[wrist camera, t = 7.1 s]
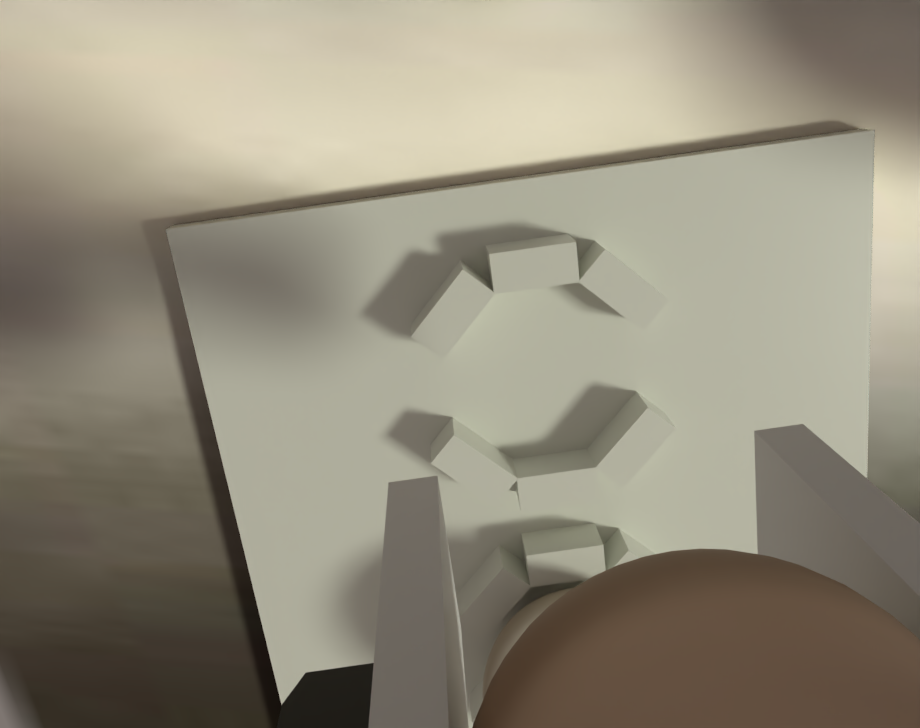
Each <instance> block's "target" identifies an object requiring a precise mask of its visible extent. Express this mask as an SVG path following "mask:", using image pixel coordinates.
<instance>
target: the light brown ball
mask: <svg viewBox="0 0 920 728" xmlns="http://www.w3.org/2000/svg"><path fill="white" fill-rule="evenodd" d="M472 728H920V639H919V638H917V637H916V636H915V635H914V634H913V633H912V632H911V631H910V630H909V629H907V628H906V627H905V626H904V625H903V624H902V623H900V622H899V621H898V620H897V619H896V618H895V617H893V616H892V615H891V614H890V613H888V612H887V611H885V610H883V609H882V608H880V607H879V606H877V605H876V604H874V603H873V602H871V601H870V600H868V599H867V598H865V597H864V596H862V595H860V594H859V593H857V592H856V591H854V590H852V589H851V588H849V587H848V586H846V585H844V584H842V583H840V582H838V581H835V580H833V579H831V578H829V577H826V576H824V575H822V574H819V573H817V572H815V571H812V570H810V569H808V568H805V567H803V566H801V565H798V564H795V563H792V562H788V561H785V560H781V559H778V558H774V557H771V556H765V555H759V554H753V553H747V552H741V551H734V550H728V549H689V550H677V551H669V552H664V553H659V554H654V555H649V556H645V557H641V558H638V559H635V560H632V561H629V562H626V563H623V564H620V565H617V566H615V567H613V568H610V569H608V570H606V571H604V572H602V573H599V574H597V575H595V576H593V577H591V578H589V579H588V580H586V581H584V582H583V583H581V584H579V585H578V586H576V587H574V588H573V589H571V590H569V591H568V592H567V593H565V594H564V595H563V596H561V597H560V598H559V599H558V600H556V601H555V602H554V603H552V604H551V605H550V606H548V607H547V608H546V609H545V610H544V611H543V612H542V613H541V614H540V615H539V616H538V617H537V618H536V619H535V620H534V621H533V622H532V623H531V624H530V625H529V626H528V628H527V629H526V630H525V631H524V633H523V634H522V635H521V637H520V638H519V639H518V640H517V642H516V643H515V644H514V645H513V647H512V648H511V649H510V651H509V652H508V654H507V655H506V656H505V658H504V659H503V661H502V663H501V664H500V666H499V668H498V669H497V671H496V673H495V675H494V676H493V678H492V680H491V682H490V684H489V687H488V689H487V692H486V694H485V696H484V699H483V701H482V704H481V706H480V709H479V711H478V713H477V716H476V718H475V721H474V723H473V727H472Z"/></svg>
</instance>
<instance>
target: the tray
mask: <svg viewBox="0 0 920 728" xmlns="http://www.w3.org/2000/svg"><path fill="white" fill-rule="evenodd" d="M874 136H875V130H870V129H856V130H849V131H842V132H834V133H827V134H820V135H813V136H806V137H799V138H792V139H785V140H777V141H770V142H763V143H756V144H749V145H742V146H735V147H728V148H720V149H713V150H706V151H699V152H692V153H685V154H678V155H671V156H663V157H656V158H649V159H642V160H635V161H628V162H621V163H614V164H606V165H599V166H592V167H585V168H578V169H571V170H564V171H557V172H549V173H542V174H535V175H528V176H521V177H514V178H507V179H500V180H492V181H485V182H478V183H471V184H464V185H457V186H450V187H443V188H435V189H428V190H421V191H414V192H407V193H400V194H393V195H386V196H378V197H371V198H364V199H357V200H350V201H343V202H336V203H329V204H321V205H314V206H307V207H300V208H293V209H286V210H279V211H272V212H264V213H257V214H250V215H243V216H236V217H229V218H222V219H215V220H207V221H200V222H193V223H186V224H179V225H173V226H171V227H169V228H167V229H166V234H167V238H168V242H169V246H170V250H171V254H172V258H173V262H174V266H175V270H176V275H177V279H178V283H179V287H180V291H181V295H182V299H183V303H184V307H185V311H186V316H187V320H188V324H189V328H190V332H191V336H192V340H193V344H194V348H195V352H196V357H197V361H198V365H199V369H200V373H201V377H202V381H203V385H204V389H205V393H206V398H207V402H208V406H209V410H210V414H211V418H212V422H213V426H214V430H215V434H216V439H217V443H218V447H219V451H220V455H221V459H222V463H223V467H224V471H225V475H226V479H227V484H228V488H229V492H230V496H231V500H232V504H233V508H234V512H235V516H236V520H237V525H238V529H239V533H240V537H241V541H242V545H243V549H244V553H245V557H246V561H247V566H248V570H249V574H250V578H251V582H252V586H253V590H254V594H255V598H256V602H257V607H258V611H259V615H260V619H261V623H262V627H263V631H264V635H265V639H266V643H267V648H268V652H269V656H270V660H271V664H272V668H273V672H274V676H275V680H276V684H277V689H278V693H279V697H280V701H281V705H282V704H283V702H284V701H285V700H286V698H287V697H288V696H289V694H290V693H291V692H292V690H293V689H294V688H295V686H296V685H297V684H298V682H299V681H300V679H301V678H302V677H303V675H304V674H305V673H306V672H313V671H320V670H327V669H334V668H341V667H348V666H355V665H362V664H369V663H374V653H375V641H376V629H377V617H378V605H379V592H380V580H381V568H382V556H383V544H384V532H385V520H386V507H387V495H388V483H389V482H395V481H402V480H409V479H416V478H423V477H430V476H438V482H439V489H440V495H441V501H442V508H443V514H444V521H445V527H446V534H447V540H448V546H449V553H450V559H451V566H452V572H453V579H454V585H455V591H456V598H457V604H458V611H459V617H460V624H461V634H462V647H463V660H464V673H465V686H466V699H467V712H468V725H469V728H472V727H473V723H474V721H475V718H476V716H477V713H478V711H479V709H480V706H481V704H482V701H483V678H484V673H485V668H486V664H487V660H488V657H489V654H490V652H491V649H492V647H493V645H494V642H495V640H496V639H497V637H498V635H499V634H500V632H501V631H502V629H503V628H504V627H505V626H506V624H507V623H508V622H509V620H510V619H511V618H512V617H513V616H514V615H515V614H516V613H517V612H518V611H519V610H521V609H522V608H523V607H525V606H526V605H527V604H529V603H531V602H532V601H534V600H536V599H537V598H540V597H542V596H544V595H546V594H549V593H552V592H555V591H558V590H563V589H568V588H574V587H576V586H578V585H579V584H581V583H583V582H584V581H586V580H588V579H589V578H591V577H593V576H595V575H597V574H599V573H602V572H604V571H606V570H608V569H610V568H613V567H615V566H617V565H620V564H623V563H626V562H629V561H632V560H635V559H638V558H641V557H645V556H649V555H654V554H659V553H664V552H669V551H677V550H689V549H728V550H734V551H741V552H747V553H753V554H758V550H757V514H756V479H755V443H754V431H756V430H763V429H770V428H777V427H784V426H791V425H798V424H804V425H805V426H806V427H807V428H808V429H810V430H811V431H812V432H813V433H814V434H815V435H817V436H818V437H819V438H820V439H821V440H822V441H824V442H825V443H826V444H827V445H828V446H829V447H831V448H832V449H833V450H834V451H835V452H836V453H838V454H839V455H840V456H841V457H842V458H843V459H845V460H846V461H847V462H848V463H849V464H850V465H852V466H853V467H854V468H855V469H856V470H857V471H859V472H860V473H861V474H862V475H863V476H865V477H866V478H867V457H868V411H869V365H870V319H871V274H872V228H873V182H874Z"/></svg>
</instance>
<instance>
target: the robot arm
mask: <svg viewBox="0 0 920 728" xmlns="http://www.w3.org/2000/svg"><path fill="white" fill-rule="evenodd" d="M754 443H755V479H756V514H757V550H758V554H759V555H765V556H771V557H774V558H778V559H781V560H785V561H788V562H792V563H795V564H798V565H801V566H803V567H805V568H808V569H810V570H812V571H815V572H817V573H819V574H822V575H824V576H826V577H829V578H831V579H833V580H835V581H838V582H840V583H842V584H844V585H846V586H848V587H849V588H851V589H852V590H854V591H856V592H857V593H859V594H860V595H862V596H864V597H865V598H867V599H868V600H870V601H871V602H873V603H874V604H876V605H877V606H879V607H880V608H882V609H883V610H885V611H887V612H888V613H890V614H891V615H892V616H893V617H895V618H896V619H897V620H898V621H899V622H900V623H902V624H903V625H904V626H905V627H906V628H907V629H909V630H910V631H911V632H912V633H913V634H914V635H915V636H916V637H917V638H919V639H920V524H919V523H918V522H917V521H916V520H915V519H914V518H912V517H911V516H910V515H909V514H908V513H907V512H905V511H904V510H903V509H902V508H901V507H900V506H898V505H897V504H896V503H895V502H894V501H893V500H891V499H890V498H889V497H888V496H887V495H886V494H884V493H883V492H882V491H881V490H880V489H879V488H877V487H876V486H875V485H874V484H873V483H872V482H870V481H869V480H868V479H867V478H866V477H865V476H863V475H862V474H861V473H860V472H859V471H857V470H856V469H855V468H854V467H853V466H852V465H850V464H849V463H848V462H847V461H846V460H845V459H843V458H842V457H841V456H840V455H839V454H838V453H836V452H835V451H834V450H833V449H832V448H831V447H829V446H828V445H827V444H826V443H825V442H824V441H822V440H821V439H820V438H819V437H818V436H817V435H815V434H814V433H813V432H812V431H811V430H810V429H808V428H807V427H806V426H805V425H804V424H798V425H791V426H784V427H777V428H770V429H763V430H756V431H754ZM277 728H469V725H468V712H467V699H466V686H465V673H464V660H463V647H462V634H461V624H460V617H459V611H458V604H457V598H456V591H455V585H454V579H453V572H452V566H451V559H450V553H449V546H448V540H447V534H446V527H445V521H444V514H443V508H442V501H441V495H440V489H439V482H438V476H430V477H423V478H416V479H409V480H402V481H395V482H389V483H388V495H387V507H386V520H385V532H384V544H383V556H382V568H381V580H380V592H379V605H378V617H377V629H376V641H375V653H374V663H369V664H362V665H355V666H348V667H341V668H334V669H327V670H320V671H313V672H306V673H305V674H304V675H303V677H302V678H301V679H300V681H299V682H298V684H297V685H296V686H295V688H294V689H293V690H292V692H291V693H290V694H289V696H288V697H287V698H286V700H285V701H284V702H283V704H282V706H281V711H280V715H279V719H278V724H277Z"/></svg>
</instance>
